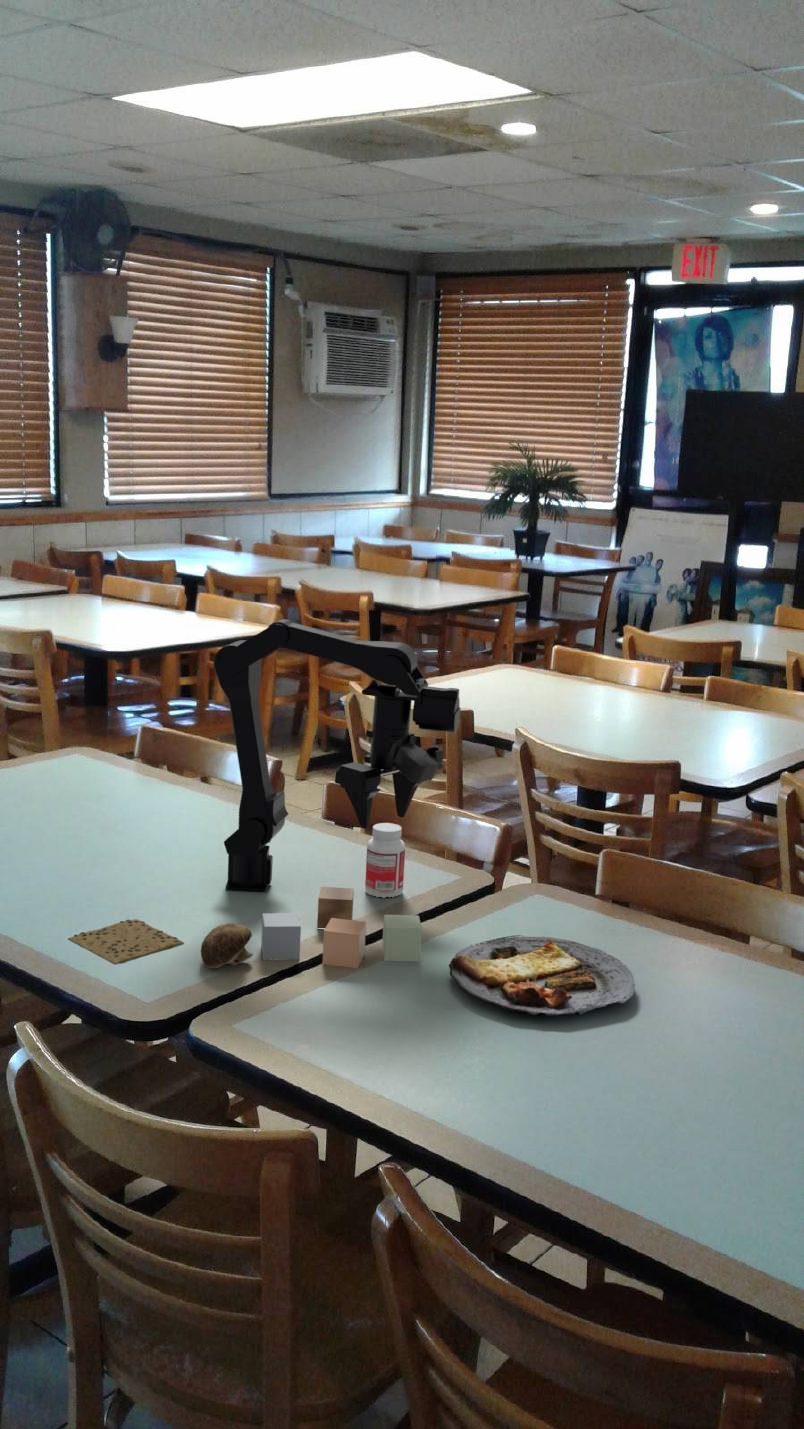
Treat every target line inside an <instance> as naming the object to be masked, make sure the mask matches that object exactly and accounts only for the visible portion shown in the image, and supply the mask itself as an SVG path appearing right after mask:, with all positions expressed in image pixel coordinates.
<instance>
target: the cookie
mask: <svg viewBox="0 0 804 1429" xmlns="http://www.w3.org/2000/svg"><path fill="white" fill-rule="evenodd" d="M67 940H68V941H70V942H72V943H74V944H75V945H77V946H79V947H81V948H82V949H84V950H85V949H86V950H87V951H89V952H91V953H93V954H94V955H96V956H97V957H100V958H102V959H104V960H105V961H108V962H109V963H111V964H113V965H119V964H124V963H126V962H129V961H132V960H137V959H139V958H142V957H146V956H149V955H152V954H155V953H159V952H163V951H166V950H169V949H172V948H176V947H179V946H183V945H184V944H185V942H183V941H182V940H181V939H179V938H177V937H176V936H172V935H169V934H168V933H166V932H164V931H162V930H160V929H157V928H155V927H153V926H151V925H150V924H147V923H146V922H145V921H143V920H140V919H135V918H134V919H126V920H123V921H122V920H120V921H119V922H117V923H114V924H110V925H108V926H104V927H102V928H99V929H94V930H88V931H86V932H84V931H83V932H80V933H79V934H74V935H73V936H70V937H68V938H67Z"/></svg>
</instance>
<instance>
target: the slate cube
mask: <svg viewBox="0 0 804 1429" xmlns="http://www.w3.org/2000/svg"><path fill="white" fill-rule="evenodd" d="M261 919H262V920H261V921H262V923H261V942H260V943H261V953H263V954H262V959H263V960H262V961H275V960H274V959H299V960H300V959H301V958H300V954H301V934H302V933H301V932H302V931H301V930H302V925H301V920H300V917H299V913H297V912H296V913H295V912H291V913H290V912H289V913H288V912H287V913H286V912H285V913H284V912H283V913H280V912H278V913H270V912H269V913H262V918H261ZM271 959H272V960H271Z"/></svg>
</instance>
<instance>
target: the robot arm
mask: <svg viewBox="0 0 804 1429" xmlns="http://www.w3.org/2000/svg"><path fill="white" fill-rule="evenodd" d="M280 649H287V650H291V651H293V652H294V651H295V652H297V653H301V654H306V655H309V656H313V657H316V658H320V659H324V660H328V661H332V662H335V663H339V664H343V665H347V666H350V667H352V668H354V669H357V670H359V671H360V672H361V673H363V674H364V675H366V676H368V677H370V678H371V679H372V681H371V682H370V684H369V685H368V686H366V687H364V689H362V691H361V694H362V695H363V696H371V697H374V702H373V710H372V711H373V714H372V726H371V728H370V729H366V730H365V731H366V732H365V737H367V738H371V739H370V750H369V751H370V752H369V754H366V755H364V756H363V762H364V763H365V764H369V765H365V764H363V763H359V762H357V761H356V762H355V761H354V762H350V763H346V764H345V763H344V764H341V765H339V766H338V767H337V768H336V769H335V773H334V783H335V784H336V785H337V784H338V785H339V787H340V788H343V789H344V791H345V793H346V795H347V797H348V799H349V801H350V803H351V806H352V808H353V810H354V814H355V816H356V818H357V821H358V822H359V825H360V827H361V828H363V829H368V828H369V824H370V819H371V813H372V812H371V811H372V806H373V800H374V797H375V796H376V795H377V794H378V793H380V792H381V789H380V788H378V787H379V786H380V783H381V781H382V780H381V779H382V777H385V776H390V775H392V782H393V783H392V784H393V791H394V801H395V808H396V814H397V817H399V818H405V816H406V814H407V812H408V810H409V808H410V805H411V803H412V800H413V799H414V795H415V793H416V792H417V790H418V787H419V786H420V785H421V784H422V783H425V782H426V781H429V782H431V781H433V779H434V776H435V774H436V773H437V771H440V770H443V762H444V749H443V748H441V747H440V746H439V745H433V746H429V747H428V748H426V747H420V746H418V745H416V735H415V733H414V732H411V731H410V723H411V712H412V722H413V723H415V726H418V729H419V730H424V731H433V732H440V733H448V734H455V735H456V734H457V732H458V728H459V723H460V718H461V708H462V707H460V704H461V703H460V689H459V688H456V687H447V688H444V687H435V686H429V683H428V681H427V680H426V678H425V676H424V674H423V673H422V671H421V669H420V668H419V667H418V657H417V654H416V652H415V650H414V649H413V647H411V646H410V645H409V644H408V643H404V642H398V641H397V642H396V641H387V640H386V641H385V640H382V641H380V640H377V641H376V640H361V639H356V638H353V637H348V636H345V635H341V634H337V633H334V632H331V631H327V630H321V629H320V628H314V627H310V626H307V625H303V624H301V623H296V622H293V621H291V620H289V619H285V618H283V619H280V620H277V621H274V622H272V623H271V624H270V625H268V627H267V628H265V629H263V630H262V631H260V632H258V633H257V634H255V635H253V636H251V637H250V638H248V639H247V640H244V639H243V640H236V641H234V642H232V643H230V644H227V645H225V646H223V647H222V648H220V649H218V651H217V652H216V654H215V655H214V656H213V668H214V672H215V674H216V677H217V682H218V684H219V687H220V688H221V690H222V692H223V694H224V696H225V697H226V698H227V701H228V704H229V708H230V714H231V722H232V728H233V736H234V741H235V748H236V755H237V763H238V768H239V774H240V781H241V787H242V788H241V797H240V801H239V802H240V803H239V807H238V828H237V829H236V830H235V831H234V832H233V833H232V834H230V836H228V837H227V838H226V839H225V840H224V841H223V845H224V848H225V851H226V853H227V854H228V859H227V860H228V861H227V862H228V864H227V881H226V884H225V890H231V891H232V890H233V891H250V892H251V891H253V892H266V891H267V889H268V886H269V885H271V882H272V880H273V863H274V861H273V858H274V856H273V855H271V854H270V845H268V844H269V843H271V841H272V839H273V838H274V837H275V836H276V835H277V834H278V833H280V831H282V829H283V828H284V826H285V822H286V817H288V816H289V812H288V811H287V808H286V805H285V804H286V801H285V800H286V797H285V796H286V794H285V791H283V790H282V791H279V792H277V791H276V790H275V789H274V787H273V785H272V783H271V779H270V773H269V772H270V771H269V765H268V759H267V758H268V757H267V753H266V746H265V738H264V737H265V736H264V733H263V724H262V719H261V718H262V717H261V712H260V711H261V710H260V705H259V691H260V690H259V689H260V686H261V681H262V660H265V659H266V658H267V657H269V656H271V655H272V654H274V653H276V652H277V651H279V650H280ZM412 701H413V708H412Z"/></svg>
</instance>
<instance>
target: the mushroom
mask: <svg viewBox="0 0 804 1429" xmlns="http://www.w3.org/2000/svg"><path fill="white" fill-rule="evenodd" d="M252 936H253V933H252V930H251V928H249V927H248V926H245V925H243V924H241V923H239V924H238V923H233V922H231V923H230V922H228V923H224V924H221V925H217V926H216V927H214V928H212V929H211V930H210V932H209V933H208V934H207V935H206V936H205V937H204V939H203V941H202V943H201V948H200V955H201V959H202V963H203V965H204V966H205V967H206V968H209V969H218V968H220V967H222V966H224V965H226V964H230V965H232V966H236V965H239V964H241V963H243V962H245V961H246V960H248V959H250V958H251V957H253V956H254V953H252V952H250V951H248V950H247V949H246V945H247V944H248V943H249V942H250V940H251V938H252Z"/></svg>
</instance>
